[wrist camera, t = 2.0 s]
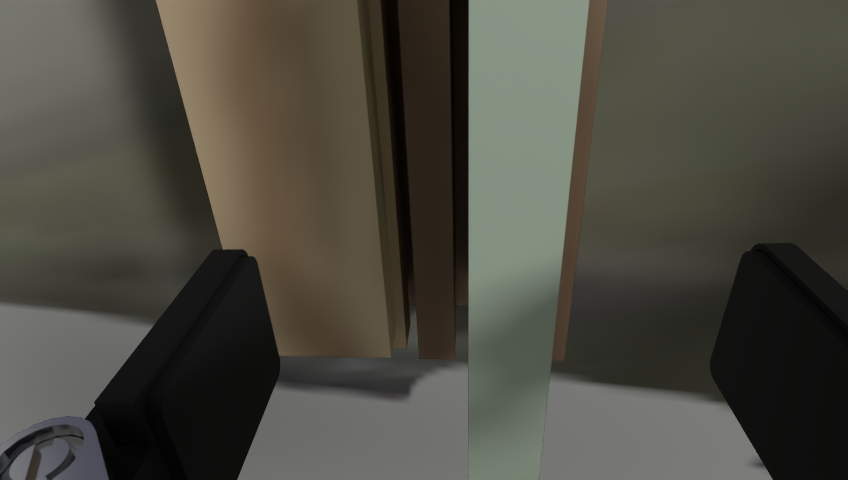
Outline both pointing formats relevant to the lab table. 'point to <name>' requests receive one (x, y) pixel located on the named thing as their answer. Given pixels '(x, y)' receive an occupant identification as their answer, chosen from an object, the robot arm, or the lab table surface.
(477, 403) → the tall sheet
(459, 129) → the rack
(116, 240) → the lab table surface
